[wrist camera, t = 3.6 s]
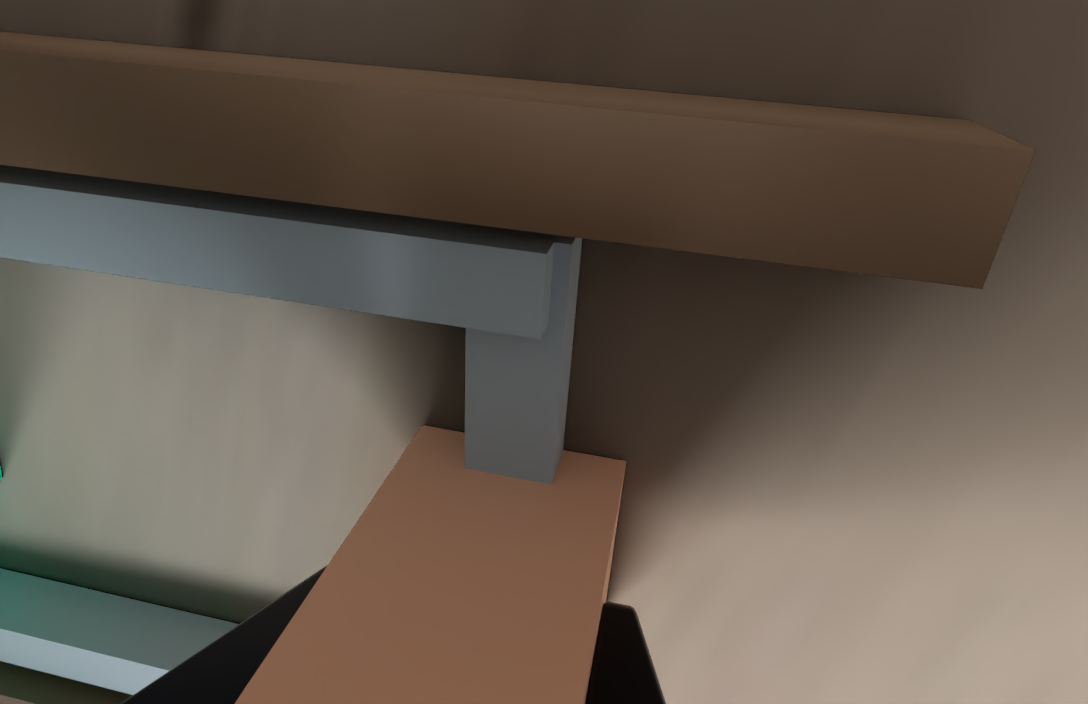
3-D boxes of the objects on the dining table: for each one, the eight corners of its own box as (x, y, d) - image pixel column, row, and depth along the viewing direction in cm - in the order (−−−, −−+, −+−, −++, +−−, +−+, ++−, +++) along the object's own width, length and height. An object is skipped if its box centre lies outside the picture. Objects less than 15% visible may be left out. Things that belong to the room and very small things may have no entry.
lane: (732, 830, 13) (734, 931, 11) (-320, 563, 17) (-413, 615, 15) (969, 119, 7) (1035, 149, 6) (-739, -36, 11) (-954, -42, 9)
